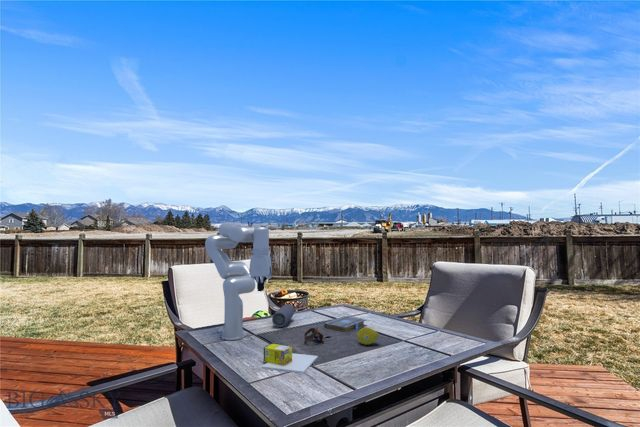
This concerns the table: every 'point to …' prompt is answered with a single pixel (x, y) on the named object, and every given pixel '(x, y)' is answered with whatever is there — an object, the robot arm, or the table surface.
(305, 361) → the flat white board
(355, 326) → the book
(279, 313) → the bluetooth speaker
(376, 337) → the lemon
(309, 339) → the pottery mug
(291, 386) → the table surface
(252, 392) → the table surface
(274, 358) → the supplement box
